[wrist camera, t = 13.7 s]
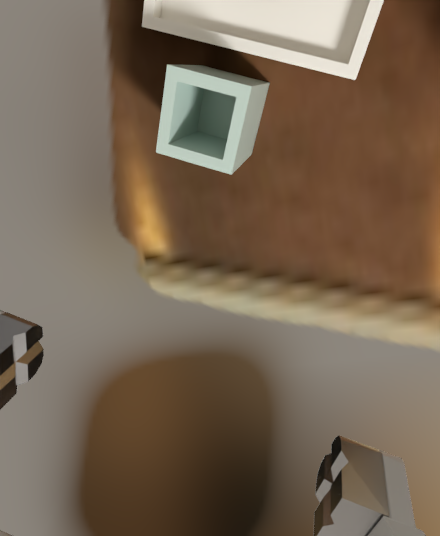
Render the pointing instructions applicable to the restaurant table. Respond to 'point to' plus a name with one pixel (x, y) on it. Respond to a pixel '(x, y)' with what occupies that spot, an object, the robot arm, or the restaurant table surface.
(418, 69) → the restaurant table surface
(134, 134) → the restaurant table surface
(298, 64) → the melamine tray
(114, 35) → the restaurant table surface
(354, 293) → the restaurant table surface
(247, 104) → the celadon cup
